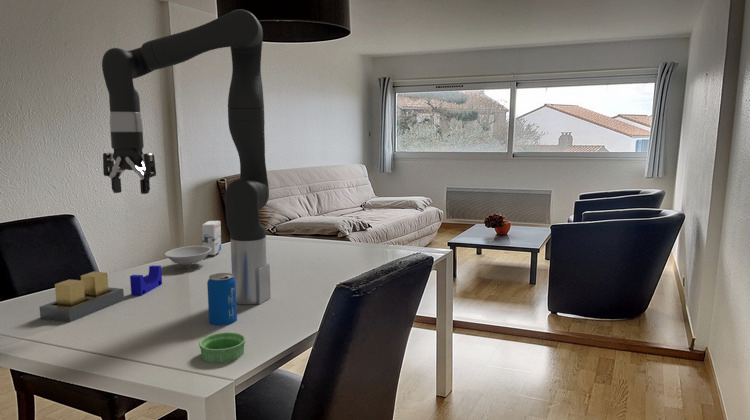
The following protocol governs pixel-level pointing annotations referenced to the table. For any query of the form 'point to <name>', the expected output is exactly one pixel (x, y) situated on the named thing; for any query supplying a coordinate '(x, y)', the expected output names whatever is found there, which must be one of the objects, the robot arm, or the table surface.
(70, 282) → the wooden toy block
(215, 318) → the beverage can
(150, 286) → the cable clip
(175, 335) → the table surface
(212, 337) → the ramekin
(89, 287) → the beige cube
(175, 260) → the dish
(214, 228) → the ink box
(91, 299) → the grey flat open box
